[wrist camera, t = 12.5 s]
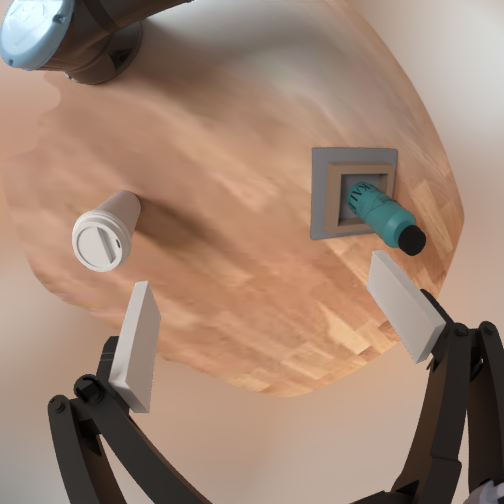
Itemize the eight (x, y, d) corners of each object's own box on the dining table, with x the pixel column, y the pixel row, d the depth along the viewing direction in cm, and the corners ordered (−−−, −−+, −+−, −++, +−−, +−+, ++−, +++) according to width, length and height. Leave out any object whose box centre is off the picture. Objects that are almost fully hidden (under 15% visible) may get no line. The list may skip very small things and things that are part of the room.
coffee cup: (145, 234, 50) (126, 282, 37) (100, 226, 48) (69, 269, 35) (152, 186, 46) (130, 222, 33) (103, 178, 43) (66, 211, 30)
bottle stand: (311, 147, 46) (319, 152, 42) (394, 149, 47) (406, 153, 44) (310, 237, 55) (316, 247, 52) (385, 229, 56) (394, 237, 53)
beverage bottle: (372, 204, 52) (432, 256, 35) (343, 213, 52) (398, 271, 35) (369, 174, 48) (436, 218, 31) (338, 182, 49) (399, 231, 32)
